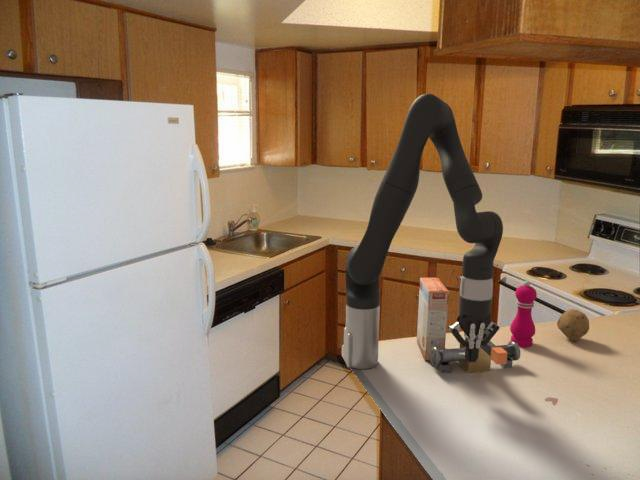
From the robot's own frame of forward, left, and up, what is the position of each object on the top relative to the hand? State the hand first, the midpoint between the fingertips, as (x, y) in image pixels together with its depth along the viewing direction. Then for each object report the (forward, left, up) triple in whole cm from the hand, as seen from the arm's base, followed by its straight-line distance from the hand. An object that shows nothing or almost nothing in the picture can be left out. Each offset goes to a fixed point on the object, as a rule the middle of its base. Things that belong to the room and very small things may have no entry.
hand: (471, 360), depth 126 cm
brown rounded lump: (+46, +25, -8) cm, 53 cm away
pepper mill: (+29, +25, -8) cm, 39 cm away
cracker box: (-1, +24, -8) cm, 26 cm away
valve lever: (+7, +6, -1) cm, 9 cm away
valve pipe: (+7, +12, -8) cm, 16 cm away
